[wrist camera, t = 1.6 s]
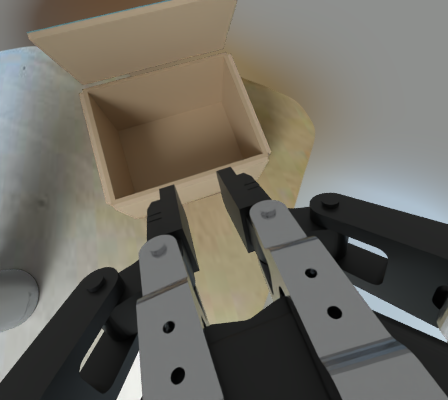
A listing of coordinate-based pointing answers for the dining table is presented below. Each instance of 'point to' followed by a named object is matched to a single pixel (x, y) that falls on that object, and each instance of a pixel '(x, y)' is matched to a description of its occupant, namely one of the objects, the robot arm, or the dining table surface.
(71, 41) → the wooden box lid
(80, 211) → the dining table surface
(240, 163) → the tan open box
